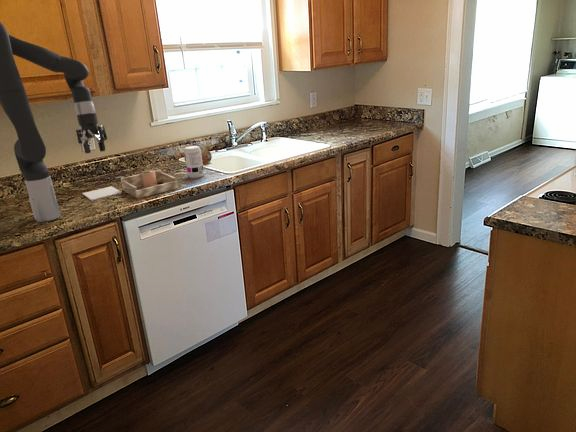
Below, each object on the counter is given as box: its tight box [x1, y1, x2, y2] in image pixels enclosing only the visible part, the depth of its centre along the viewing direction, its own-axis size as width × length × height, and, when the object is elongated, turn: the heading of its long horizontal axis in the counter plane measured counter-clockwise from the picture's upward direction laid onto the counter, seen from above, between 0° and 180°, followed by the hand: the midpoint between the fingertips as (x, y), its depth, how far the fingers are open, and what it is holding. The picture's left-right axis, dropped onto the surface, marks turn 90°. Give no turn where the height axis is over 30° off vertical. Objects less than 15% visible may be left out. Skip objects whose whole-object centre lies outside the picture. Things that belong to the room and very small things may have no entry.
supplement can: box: [183, 145, 205, 179], centre depth 229 cm, size 8×8×15 cm
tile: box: [82, 186, 123, 202], centre depth 213 cm, size 14×14×1 cm
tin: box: [184, 148, 213, 165], centre depth 254 cm, size 15×3×8 cm, turn 106°
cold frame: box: [120, 169, 179, 200], centre depth 214 cm, size 20×18×6 cm
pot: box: [141, 169, 158, 189], centre depth 213 cm, size 6×6×9 cm
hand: (95, 152), depth 191 cm, fingers open, 8 cm apart
